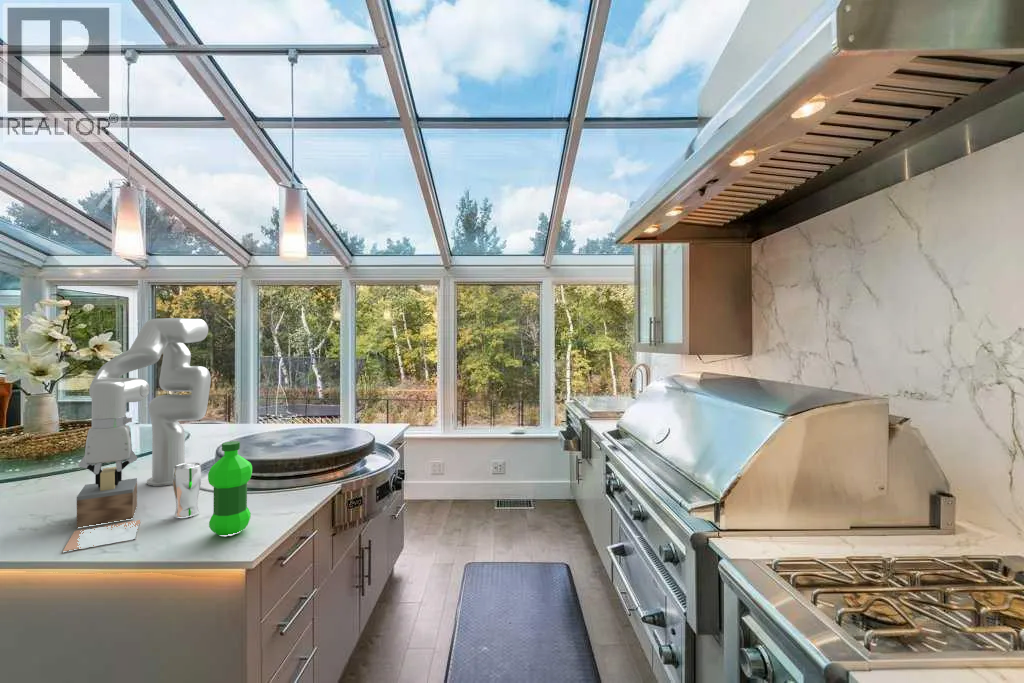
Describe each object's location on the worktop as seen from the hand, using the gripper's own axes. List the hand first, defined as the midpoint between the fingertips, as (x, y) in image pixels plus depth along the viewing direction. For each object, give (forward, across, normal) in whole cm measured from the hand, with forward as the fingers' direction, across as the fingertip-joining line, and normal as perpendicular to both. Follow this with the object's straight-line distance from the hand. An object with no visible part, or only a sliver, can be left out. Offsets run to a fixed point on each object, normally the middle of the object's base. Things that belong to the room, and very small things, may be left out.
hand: (108, 484), depth 135 cm
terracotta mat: (+10, -1, +16) cm, 18 cm away
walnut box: (+10, 0, 0) cm, 10 cm away
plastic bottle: (+10, -29, +31) cm, 44 cm away
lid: (+3, 0, 0) cm, 3 cm away
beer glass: (+10, -19, +10) cm, 24 cm away
